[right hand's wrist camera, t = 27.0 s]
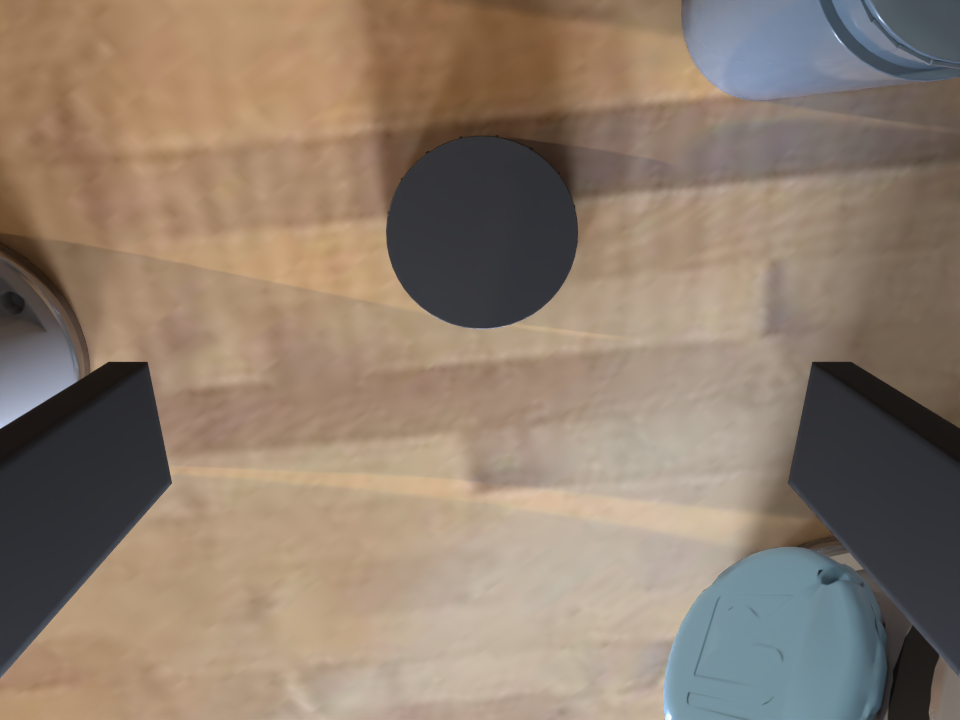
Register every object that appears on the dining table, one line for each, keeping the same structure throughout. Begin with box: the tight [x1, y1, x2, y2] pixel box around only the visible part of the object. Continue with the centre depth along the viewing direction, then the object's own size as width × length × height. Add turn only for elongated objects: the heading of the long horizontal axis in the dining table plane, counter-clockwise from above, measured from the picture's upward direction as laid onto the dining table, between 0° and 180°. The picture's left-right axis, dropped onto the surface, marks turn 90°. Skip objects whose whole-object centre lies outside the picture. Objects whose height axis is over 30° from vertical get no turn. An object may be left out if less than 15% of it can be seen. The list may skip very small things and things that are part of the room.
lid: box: [386, 135, 578, 329], centre depth 36 cm, size 11×11×2 cm
